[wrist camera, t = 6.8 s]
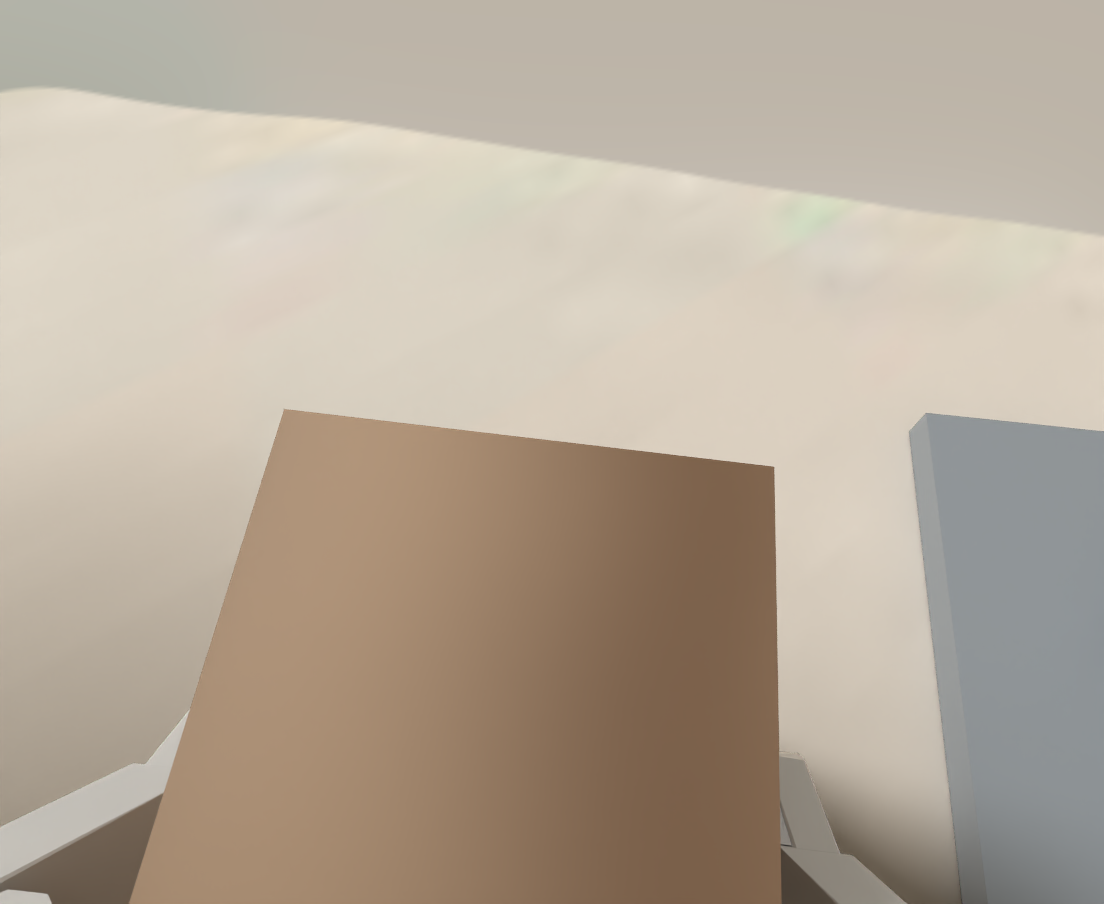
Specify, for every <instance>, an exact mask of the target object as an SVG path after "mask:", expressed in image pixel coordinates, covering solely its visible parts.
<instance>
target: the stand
mask: <svg viewBox="0 0 1104 904" xmlns="http://www.w3.org/2000/svg"><path fill="white" fill-rule="evenodd" d="M909 435H910V444H911V453H912V462H913V471H914V480H915V489H916V497H917V506H918V515H919V524H920V533H921V542H922V551H923V560H924V569H925V577H926V586H927V595H928V604H929V613H930V622H931V631H932V640H933V649H934V657H935V666H936V675H937V684H938V693H939V702H940V711H941V720H942V729H943V737H944V746H945V755H946V764H947V773H948V782H949V791H950V800H951V809H952V817H953V826H954V835H955V844H956V853H957V862H958V871H959V880H960V889H961V897H962V904H1104V431H1094V430H1085V429H1075V428H1066V427H1056V426H1047V425H1037V424H1027V423H1018V422H1008V421H999V420H989V419H980V418H970V417H960V416H951V415H941V414H932V413H926V414H925V415H924V416H923V417H922V418H921V419H920V420H919V421H918V422H917V424H916V425H915V426H914V427H913V428H912V429H911V430H910V431H909Z"/></svg>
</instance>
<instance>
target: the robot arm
mask: <svg viewBox="0 0 1104 904" xmlns="http://www.w3.org/2000/svg"><path fill="white" fill-rule="evenodd" d="M189 711H190V709H189V710H188V712H187V713H186V714H185V715H184V717H183V718H182V719H181V720H180V722H179V723H178V724H177V725H176V727H175V728H174V729H173V730H172V731H171V733H170V734H169V735H168V736H167V738H166V739H165V740H164V741H163V743H162V744H161V745H160V746H159V748H158V749H157V750H156V751H155V752H154V754H153V755H152V756H151V757H150V759H149V760H148V761H147V762H146V764H137V763H132V764H130V765H128V766H126V767H124V768H122V769H119V770H117V771H115V772H113V773H111V774H109V775H107V776H105V777H103V778H101V779H99V780H97V781H94V782H92V783H90V784H88V785H86V786H84V787H82V788H80V789H78V790H76V791H74V792H72V793H69V794H67V795H65V796H63V797H61V798H59V799H57V800H55V801H53V802H51V803H49V804H47V805H44V806H42V807H40V808H38V809H36V810H34V811H32V812H30V813H28V814H26V815H24V816H22V817H20V818H17V819H15V820H13V821H11V822H9V823H7V824H5V825H3V826H1V827H0V904H129V901H130V898H131V895H132V892H133V889H134V886H135V882H136V879H137V876H138V873H139V870H140V866H141V863H142V860H143V857H144V854H145V851H146V847H147V844H148V841H149V838H150V835H151V832H152V828H153V825H154V822H155V819H156V816H157V812H158V809H159V806H160V803H161V800H162V797H163V793H164V790H165V787H166V784H167V781H168V777H169V774H170V771H171V768H172V765H173V762H174V758H175V755H176V752H177V749H178V746H179V742H180V739H181V736H182V733H183V730H184V727H185V723H186V720H187V717H188V714H189ZM779 779H780V838H781V896H782V904H907V903H905V902H904V901H903V900H902V899H901V898H900V897H899V896H898V895H896V894H895V893H894V892H893V891H892V890H891V889H890V888H889V887H888V886H886V885H885V884H884V883H883V882H882V881H881V880H880V879H879V878H877V877H876V876H875V875H874V874H873V873H872V872H871V871H870V870H869V869H867V868H866V867H865V866H864V865H863V864H862V863H861V862H860V861H858V860H857V859H856V858H855V857H854V856H853V855H848V854H841V853H840V851H839V848H838V846H837V843H836V841H835V838H834V835H833V833H832V830H831V827H830V825H829V822H828V820H827V817H826V814H825V812H824V809H823V806H822V804H821V801H820V798H819V796H818V793H817V791H816V788H815V785H814V783H813V780H812V777H811V775H810V772H809V770H808V767H807V764H806V762H805V759H804V758H803V757H802V756H801V755H800V754H799V753H790V752H780V751H779Z"/></svg>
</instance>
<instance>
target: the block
mask: <svg viewBox="0 0 1104 904" xmlns="http://www.w3.org/2000/svg"><path fill="white" fill-rule="evenodd" d="M129 904H782V896H781V838H780V779H779V721H778V663H777V604H776V546H775V488H774V467H771V466H763V465H754V464H746V463H737V462H729V461H720V460H712V459H703V458H695V457H686V456H678V455H669V454H661V453H652V452H644V451H635V450H627V449H618V448H610V447H601V446H593V445H584V444H576V443H567V442H559V441H550V440H542V439H533V438H525V437H516V436H508V435H499V434H491V433H482V432H474V431H465V430H457V429H448V428H440V427H431V426H423V425H414V424H406V423H397V422H389V421H380V420H372V419H363V418H355V417H346V416H338V415H330V414H321V413H313V412H304V411H296V410H287V409H284V412H283V415H282V418H281V421H280V424H279V428H278V431H277V434H276V437H275V440H274V443H273V447H272V450H271V453H270V456H269V459H268V463H267V466H266V469H265V472H264V475H263V478H262V482H261V485H260V488H259V491H258V494H257V497H256V501H255V504H254V507H253V510H252V513H251V517H250V520H249V523H248V526H247V529H246V532H245V536H244V539H243V542H242V545H241V548H240V552H239V555H238V558H237V561H236V564H235V567H234V571H233V574H232V577H231V580H230V583H229V587H228V590H227V593H226V596H225V599H224V602H223V606H222V609H221V612H220V615H219V618H218V622H217V625H216V628H215V631H214V634H213V637H212V641H211V644H210V647H209V650H208V653H207V657H206V660H205V663H204V666H203V669H202V672H201V676H200V679H199V682H198V685H197V688H196V692H195V695H194V698H193V701H192V704H191V707H190V711H189V714H188V717H187V720H186V723H185V727H184V730H183V733H182V736H181V739H180V742H179V746H178V749H177V752H176V755H175V758H174V762H173V765H172V768H171V771H170V774H169V777H168V781H167V784H166V787H165V790H164V793H163V797H162V800H161V803H160V806H159V809H158V812H157V816H156V819H155V822H154V825H153V828H152V832H151V835H150V838H149V841H148V844H147V847H146V851H145V854H144V857H143V860H142V863H141V866H140V870H139V873H138V876H137V879H136V882H135V886H134V889H133V892H132V895H131V898H130V901H129Z"/></svg>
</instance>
